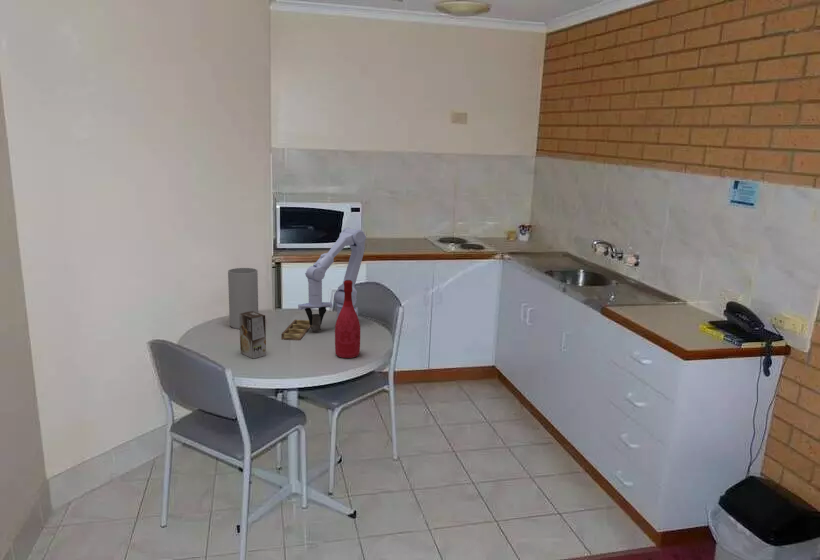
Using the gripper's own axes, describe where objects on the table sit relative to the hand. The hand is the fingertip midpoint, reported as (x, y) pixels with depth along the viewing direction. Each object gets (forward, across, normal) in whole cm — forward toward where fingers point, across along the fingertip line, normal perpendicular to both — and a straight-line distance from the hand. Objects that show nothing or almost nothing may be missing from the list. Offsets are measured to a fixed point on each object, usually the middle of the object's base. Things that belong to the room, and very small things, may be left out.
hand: (315, 324), depth 274 cm
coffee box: (+3, +30, +23) cm, 37 cm away
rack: (+3, +8, -1) cm, 9 cm away
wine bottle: (+3, -5, +34) cm, 34 cm away
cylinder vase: (+3, +28, -18) cm, 34 cm away
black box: (+2, 0, 0) cm, 2 cm away
